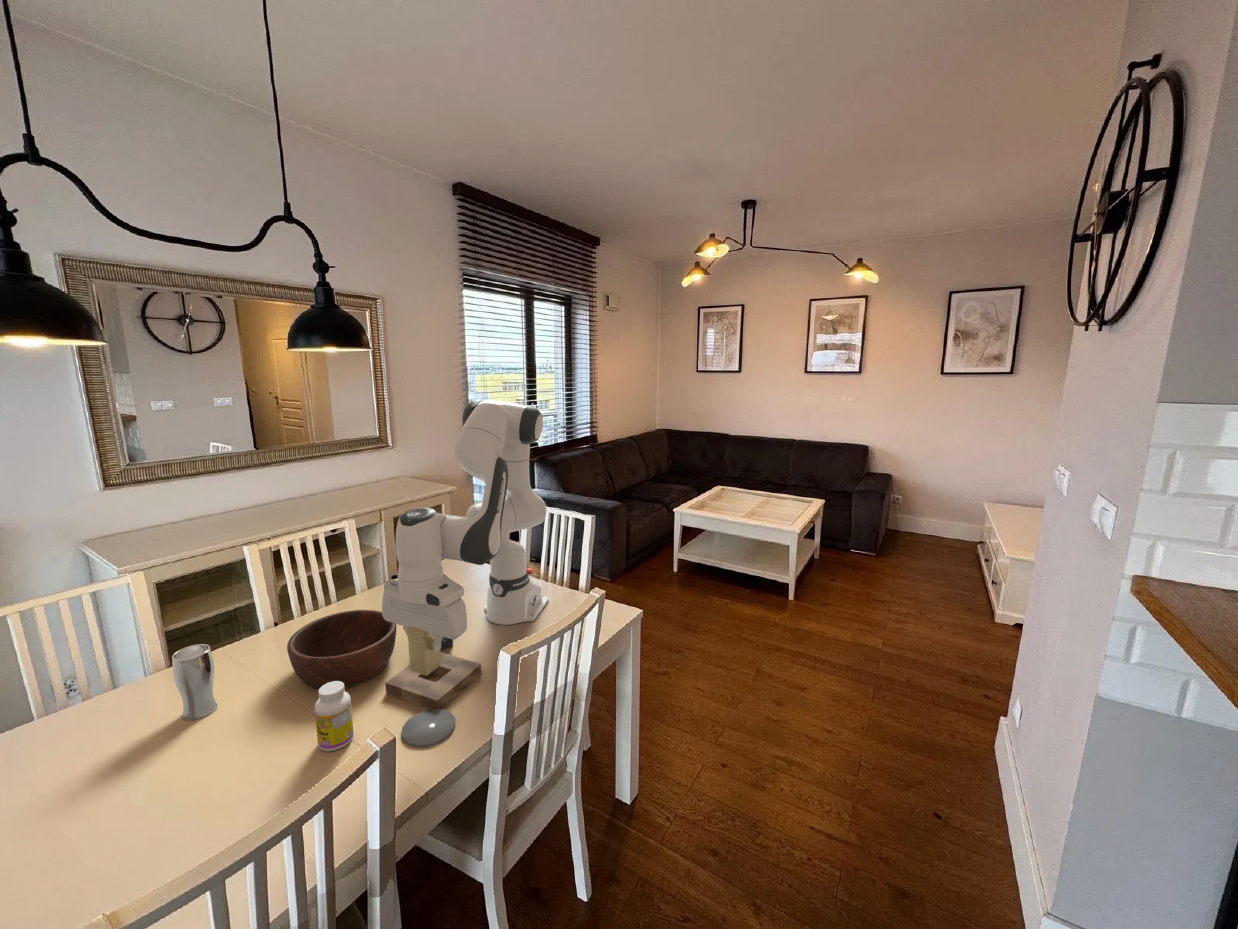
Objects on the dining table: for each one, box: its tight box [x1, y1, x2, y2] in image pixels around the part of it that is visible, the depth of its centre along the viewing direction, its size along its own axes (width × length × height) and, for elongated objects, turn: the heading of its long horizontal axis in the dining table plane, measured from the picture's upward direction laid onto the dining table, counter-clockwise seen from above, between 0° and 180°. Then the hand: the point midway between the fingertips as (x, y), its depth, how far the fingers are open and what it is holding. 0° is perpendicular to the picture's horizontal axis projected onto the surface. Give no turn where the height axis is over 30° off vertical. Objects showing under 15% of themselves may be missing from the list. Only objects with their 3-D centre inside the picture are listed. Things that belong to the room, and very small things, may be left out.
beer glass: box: [171, 643, 218, 721], centre depth 114 cm, size 7×7×15 cm
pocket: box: [384, 651, 482, 710], centre depth 127 cm, size 16×16×3 cm
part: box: [407, 627, 441, 676], centre depth 108 cm, size 4×4×10 cm
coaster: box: [401, 708, 456, 748], centre depth 112 cm, size 11×11×1 cm
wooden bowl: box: [286, 609, 397, 690], centre depth 132 cm, size 25×25×10 cm
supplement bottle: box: [314, 681, 354, 752], centre depth 106 cm, size 7×7×13 cm
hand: (424, 646), depth 108 cm, fingers closed on part, 4 cm apart
